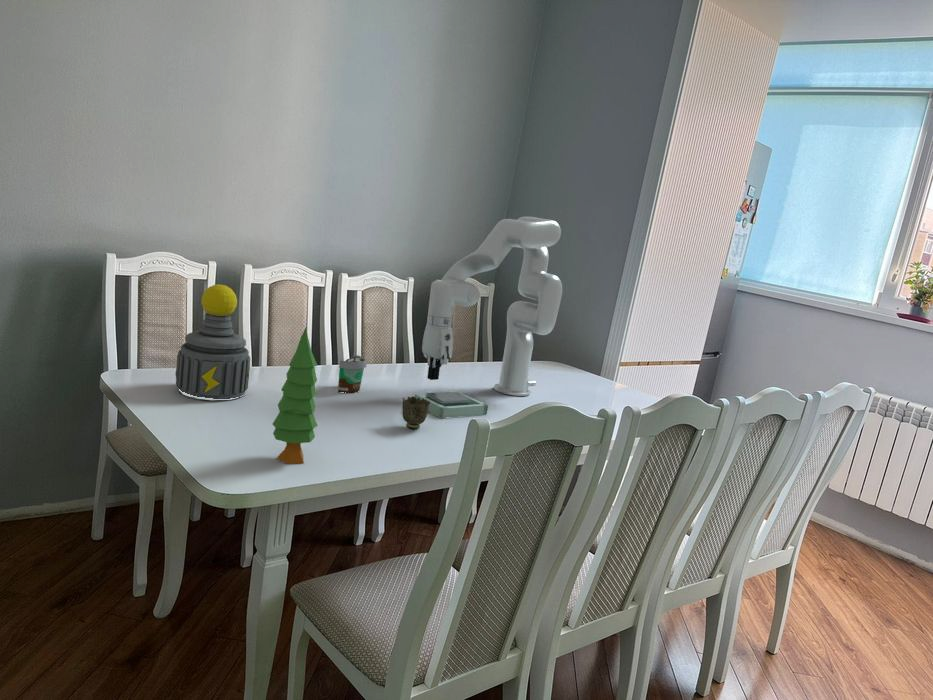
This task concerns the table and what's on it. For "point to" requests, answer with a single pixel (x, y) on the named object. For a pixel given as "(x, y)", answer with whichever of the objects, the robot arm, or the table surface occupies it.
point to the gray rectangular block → (448, 398)
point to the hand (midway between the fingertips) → (432, 378)
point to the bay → (456, 408)
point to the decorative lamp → (214, 351)
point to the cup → (414, 411)
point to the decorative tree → (297, 404)
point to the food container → (351, 374)
